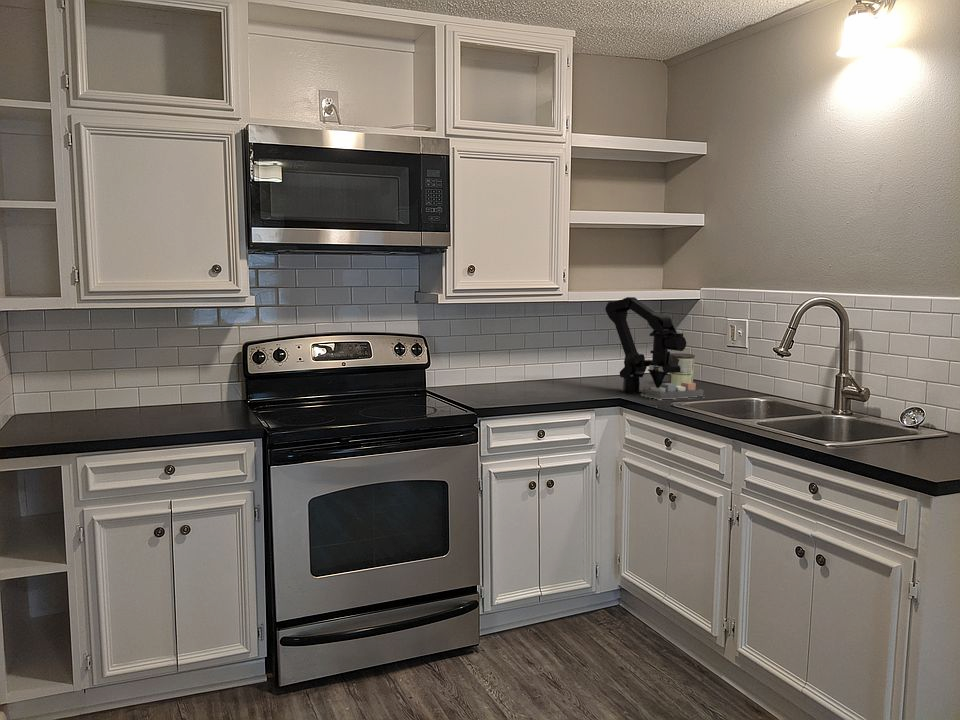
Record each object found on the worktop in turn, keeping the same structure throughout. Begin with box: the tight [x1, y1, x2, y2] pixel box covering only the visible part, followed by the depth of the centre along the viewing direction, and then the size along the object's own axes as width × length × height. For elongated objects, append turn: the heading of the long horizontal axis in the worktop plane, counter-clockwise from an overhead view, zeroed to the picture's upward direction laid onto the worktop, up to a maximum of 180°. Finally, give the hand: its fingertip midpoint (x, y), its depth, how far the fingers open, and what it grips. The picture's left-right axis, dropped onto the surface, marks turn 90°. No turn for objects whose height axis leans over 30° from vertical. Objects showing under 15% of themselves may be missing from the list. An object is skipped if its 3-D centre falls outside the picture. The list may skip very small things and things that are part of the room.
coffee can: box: [668, 352, 696, 386], centre depth 341 cm, size 10×10×14 cm
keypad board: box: [639, 387, 704, 401], centre depth 313 cm, size 11×24×3 cm, turn 118°
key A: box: [650, 386, 666, 392], centre depth 310 cm, size 4×4×3 cm
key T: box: [681, 382, 697, 390], centre depth 317 cm, size 4×4×3 cm
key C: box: [676, 386, 686, 391], centre depth 315 cm, size 4×4×3 cm
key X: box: [660, 382, 676, 392], centre depth 312 cm, size 4×4×3 cm
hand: (658, 387), depth 310 cm, fingers closed, pressing on key A
